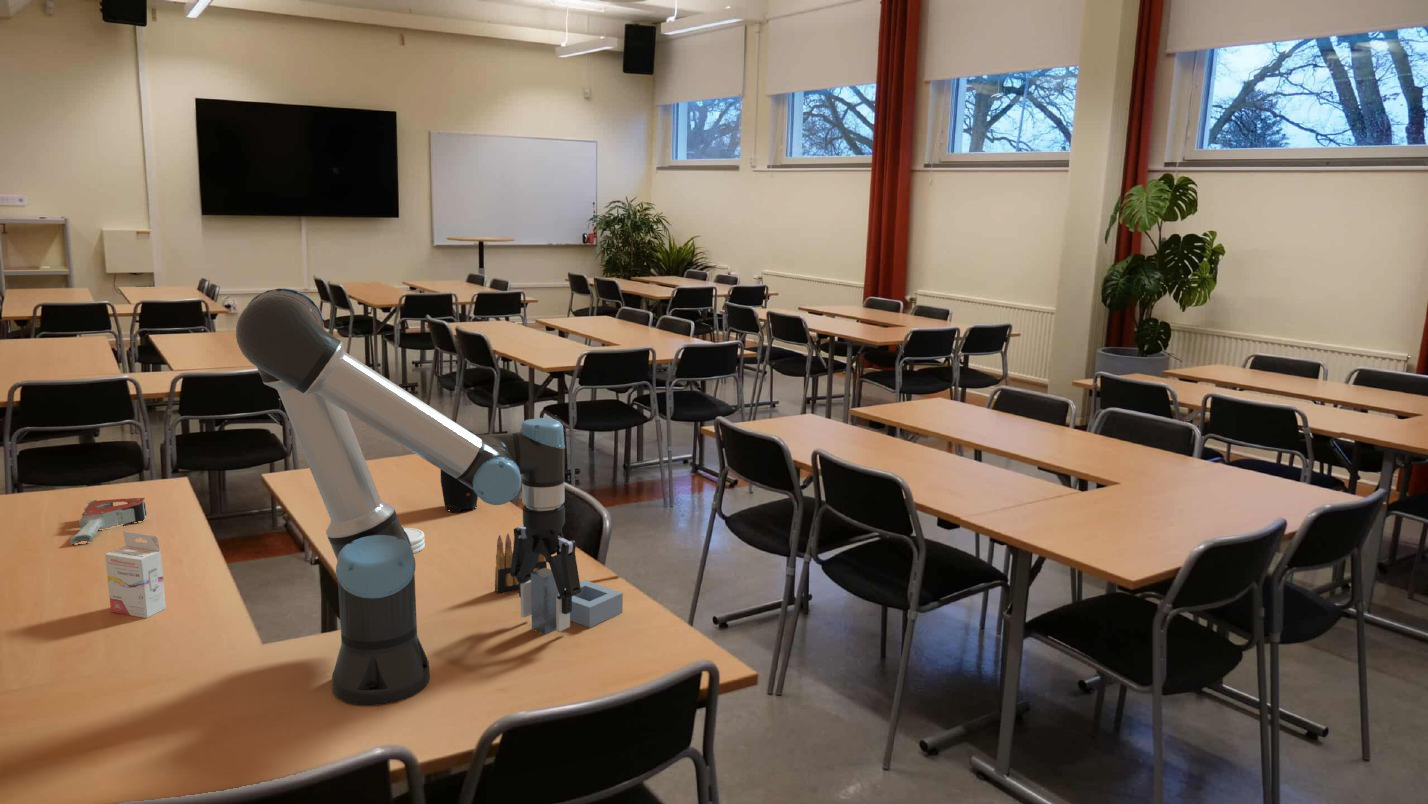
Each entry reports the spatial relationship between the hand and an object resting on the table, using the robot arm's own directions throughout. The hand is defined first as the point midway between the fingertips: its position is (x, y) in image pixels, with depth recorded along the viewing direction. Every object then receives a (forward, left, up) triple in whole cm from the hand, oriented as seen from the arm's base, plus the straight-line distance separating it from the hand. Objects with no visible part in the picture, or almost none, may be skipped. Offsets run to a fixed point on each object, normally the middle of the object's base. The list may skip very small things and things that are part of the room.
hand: (545, 621), depth 185 cm
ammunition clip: (+10, +18, -2) cm, 21 cm away
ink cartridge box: (-44, +64, -2) cm, 77 cm away
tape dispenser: (-28, +118, -2) cm, 121 cm away
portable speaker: (+36, +68, -2) cm, 77 cm away
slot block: (+10, -1, -1) cm, 10 cm away
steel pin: (0, 0, -1) cm, 1 cm away
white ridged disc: (+8, +55, -2) cm, 56 cm away
